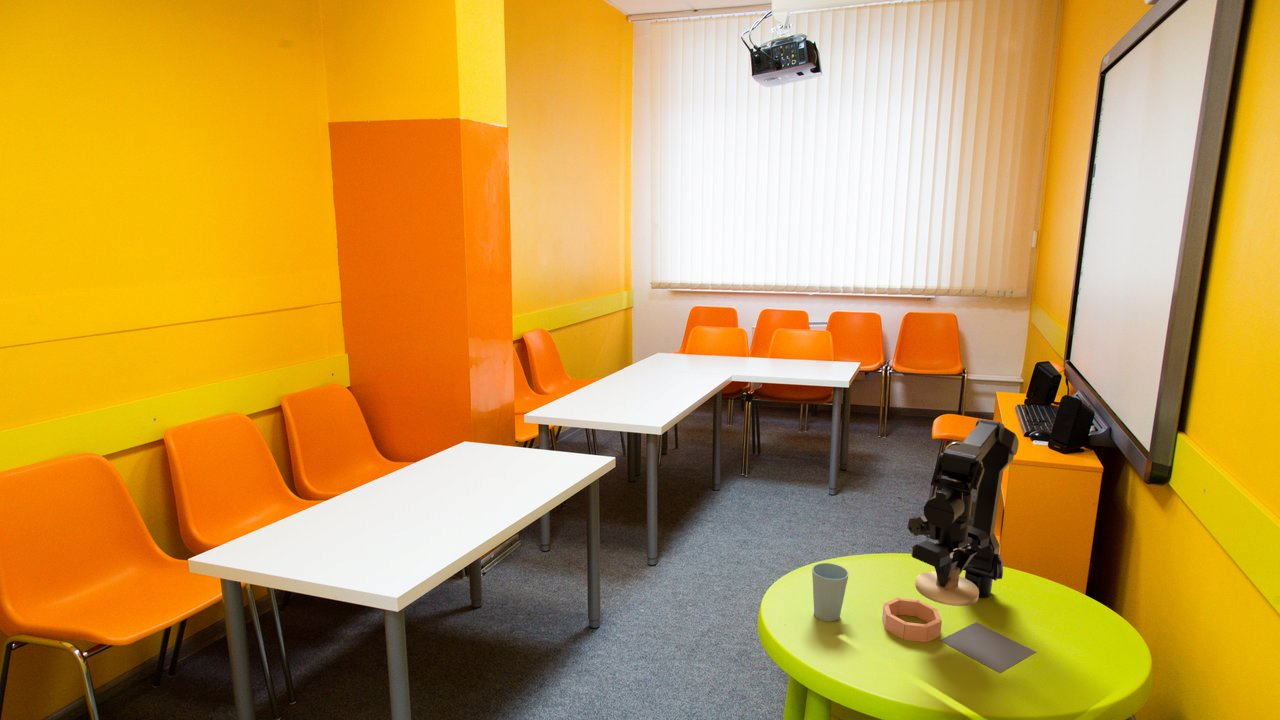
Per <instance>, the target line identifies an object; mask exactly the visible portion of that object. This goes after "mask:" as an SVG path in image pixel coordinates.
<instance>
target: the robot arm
mask: <svg viewBox="0 0 1280 720" xmlns="http://www.w3.org/2000/svg"><path fill="white" fill-rule="evenodd" d="M1019 445H1020V443H1019V438H1018V437H1017V434H1016V433H1015V432H1013V431H1012V430H1010V429H1008V428H1007V427H1005V425H1004V423H1001V421H996V420H990V419H984V418H981V419H980V418H979V419H977V421H976V423H975V426H974V428H973V429H972V431H971V432H969V434H968V435H967V436H966V438H965V439H964V440H963V441H962V443H960V444H954V445H950V446H949V447H947V448H946V449H945V450H944V451H943V452H942V453H940V454H939V457H938V459H937V463H936V466H935V468H934V472H933V475H932V478H931V481H930V486H933V487H937V491H936V492H935V495H934V496H932V497H931V498H930V499H928V500H927V501H926V503H925V505H924V506H923V516H917V517H916V516H912V517H909V519H908V521H907V522H908V523H907V527H906V528H907V529H908V532H909V533H910V534H912V535H913V536H915V537H917V536H929V539H930V541H929V540H927V539H926V540H924V541H921V542H919V543H917V544H914V545H913V546H912V547H911V553H910V554H911V557H912V558H913V559H916V560H918V561H920V562H921V563H925V564H927V565H929V566H932V567H933V568H934V569H935V572H936V574H937V578H938V582H939V585H940V586H942V587H945V586H946V584H947V582H948V580H949V578H950V576H951V574H952V572H953V570H954V568H955V566H956V567H958V568H960V573H959V576H961V574H962V572H963V571H965V572H964V578H965V579H967V580H969V581H971V582H972V583H973V584H975V585H976V586H977V588H978V589H979V597H978V599H987V598H990V597H991V595H993V596H995V597H997V595H996V594H994V593H992V587H993V581H997V580H1002V579H1003V576H1004V563H1003V559H1002V556H1001V555H1000V548H1001V547H1000V543H999V541H998V539H997V537H996V535H995V526H996V521H997V514H998V510H999V509H998V508H999V501H1000V495H1001V488H1002V481H1003V475H1004V471H1005V470H1006V468H1007V467H1008V466H1009V465H1010V464H1011V463H1012V462H1013V461H1014V457H1015V456H1016V455H1017V453H1018V449H1019ZM975 491H977V494H976V500H975V501H976V502H975V507H974V508H975V509H974V515H973V518H972V517H971V513H972V512H971V511H972V504H973V494H974V493H975ZM931 540H933V541H937V542H936V543H934V542H932V541H931Z"/></svg>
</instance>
